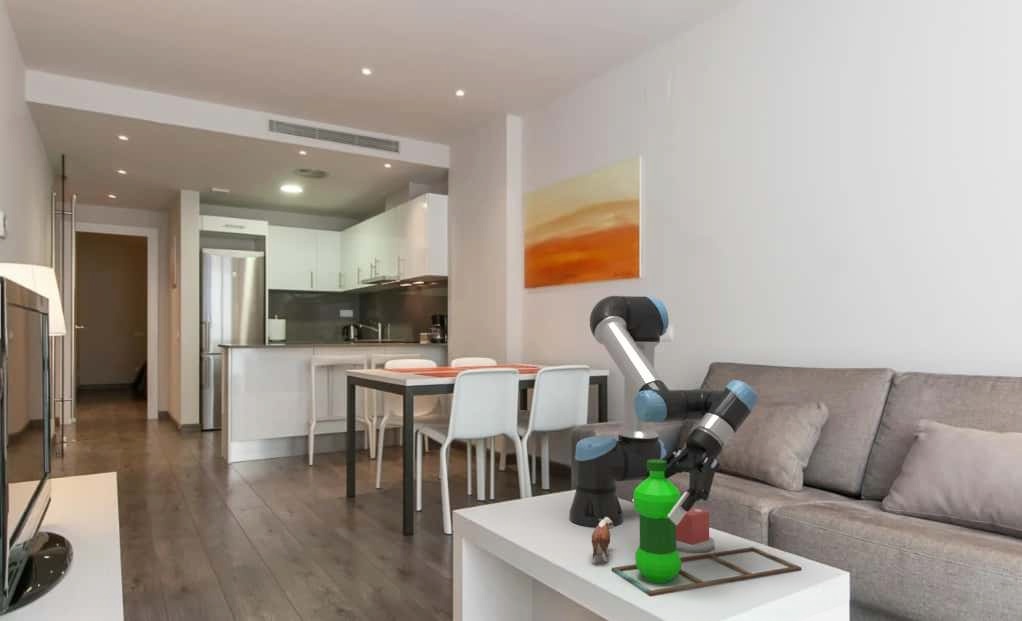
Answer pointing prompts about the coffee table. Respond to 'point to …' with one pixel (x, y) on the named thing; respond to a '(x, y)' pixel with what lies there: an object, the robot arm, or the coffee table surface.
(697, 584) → the walnut frame
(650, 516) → the plastic bottle
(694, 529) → the red die stand
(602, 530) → the bull figurine
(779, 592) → the coffee table surface
